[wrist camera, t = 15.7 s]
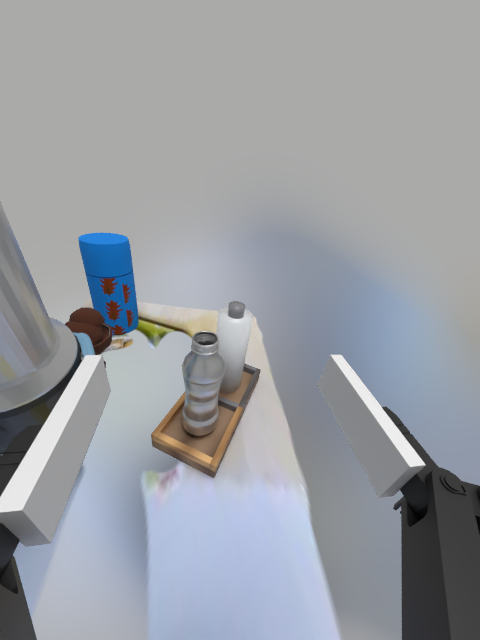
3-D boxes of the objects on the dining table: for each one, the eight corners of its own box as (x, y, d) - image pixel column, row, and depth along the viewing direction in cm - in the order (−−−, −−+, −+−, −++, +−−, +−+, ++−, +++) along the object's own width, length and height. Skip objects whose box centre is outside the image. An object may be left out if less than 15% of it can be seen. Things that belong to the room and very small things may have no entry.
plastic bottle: (182, 409, 45) (183, 324, 35) (217, 409, 47) (227, 326, 36) (179, 441, 40) (177, 352, 30) (218, 440, 41) (230, 354, 31)
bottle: (207, 387, 51) (213, 307, 40) (219, 368, 56) (228, 294, 46) (233, 398, 49) (247, 318, 39) (244, 378, 55) (258, 303, 44)
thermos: (104, 315, 72) (86, 231, 59) (141, 315, 75) (132, 234, 62) (93, 335, 63) (69, 242, 50) (135, 335, 66) (123, 246, 53)
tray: (152, 446, 41) (151, 434, 39) (214, 363, 60) (215, 353, 59) (214, 477, 38) (215, 466, 36) (258, 380, 57) (260, 369, 56)
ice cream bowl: (77, 351, 58) (60, 297, 50) (125, 353, 59) (116, 300, 52) (52, 384, 49) (27, 325, 41) (110, 385, 51) (96, 328, 43)
